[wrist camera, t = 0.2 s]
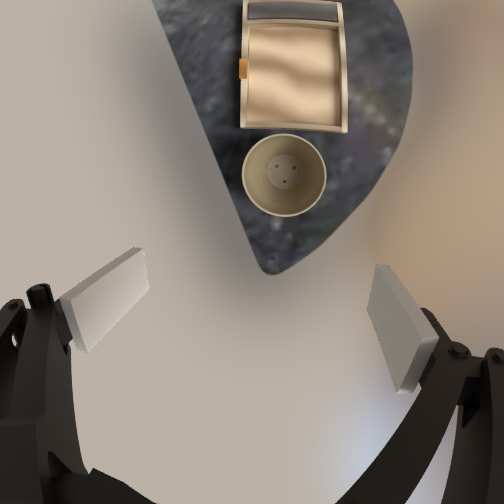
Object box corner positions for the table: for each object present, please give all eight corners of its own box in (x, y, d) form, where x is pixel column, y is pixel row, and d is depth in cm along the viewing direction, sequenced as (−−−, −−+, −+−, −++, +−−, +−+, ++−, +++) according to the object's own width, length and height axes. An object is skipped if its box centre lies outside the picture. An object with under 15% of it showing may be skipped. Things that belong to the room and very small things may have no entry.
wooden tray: (244, 6, 29) (241, -2, 27) (339, 9, 27) (341, 1, 25) (242, 128, 37) (238, 127, 34) (344, 133, 35) (348, 132, 32)
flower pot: (255, 209, 41) (247, 220, 34) (246, 142, 37) (236, 139, 31) (323, 203, 39) (329, 213, 32) (316, 134, 35) (321, 130, 29)
